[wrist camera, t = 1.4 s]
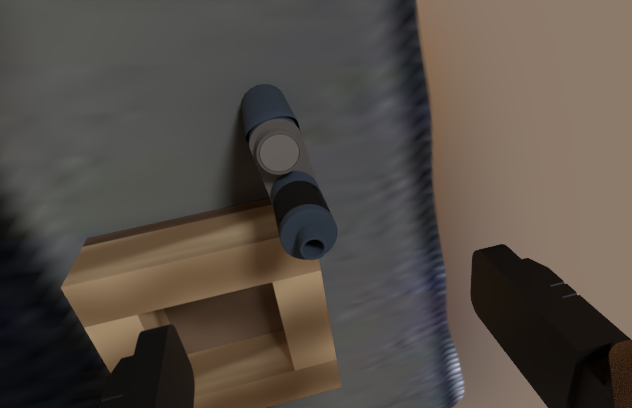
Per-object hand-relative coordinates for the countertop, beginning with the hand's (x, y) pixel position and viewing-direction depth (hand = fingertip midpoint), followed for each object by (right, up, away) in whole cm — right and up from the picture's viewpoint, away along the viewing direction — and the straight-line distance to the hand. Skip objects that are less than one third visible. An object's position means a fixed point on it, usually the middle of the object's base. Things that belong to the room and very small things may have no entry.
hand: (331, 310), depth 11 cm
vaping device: (-3, +8, +15) cm, 17 cm away
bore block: (-7, -4, +20) cm, 21 cm away
